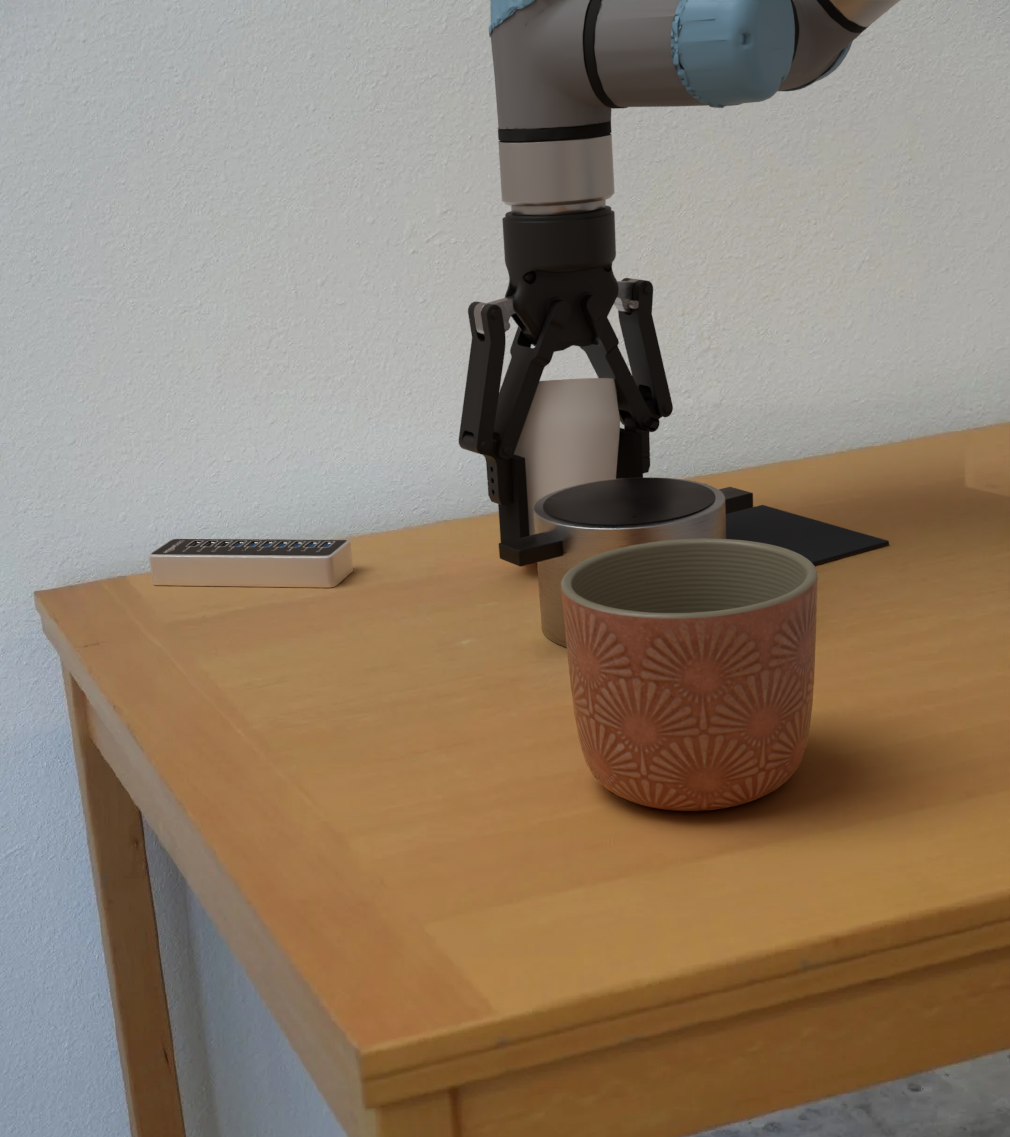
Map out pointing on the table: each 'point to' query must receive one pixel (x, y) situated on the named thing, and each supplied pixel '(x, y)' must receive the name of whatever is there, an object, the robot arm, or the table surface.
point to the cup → (569, 436)
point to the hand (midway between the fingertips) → (573, 532)
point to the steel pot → (614, 528)
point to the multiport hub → (252, 562)
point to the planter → (692, 669)
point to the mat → (798, 534)
